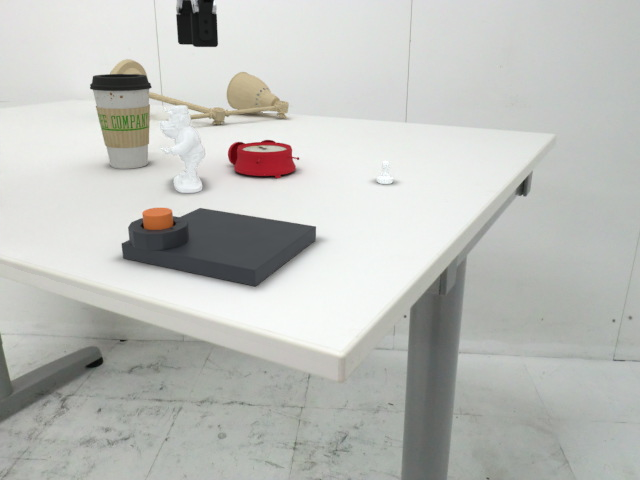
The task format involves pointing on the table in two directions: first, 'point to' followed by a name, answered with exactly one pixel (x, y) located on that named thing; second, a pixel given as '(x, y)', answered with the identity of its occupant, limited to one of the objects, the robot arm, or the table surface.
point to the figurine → (184, 147)
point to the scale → (220, 244)
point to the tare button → (157, 218)
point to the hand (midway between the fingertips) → (197, 45)
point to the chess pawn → (385, 174)
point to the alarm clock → (262, 158)
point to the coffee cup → (124, 117)
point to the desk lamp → (241, 95)
